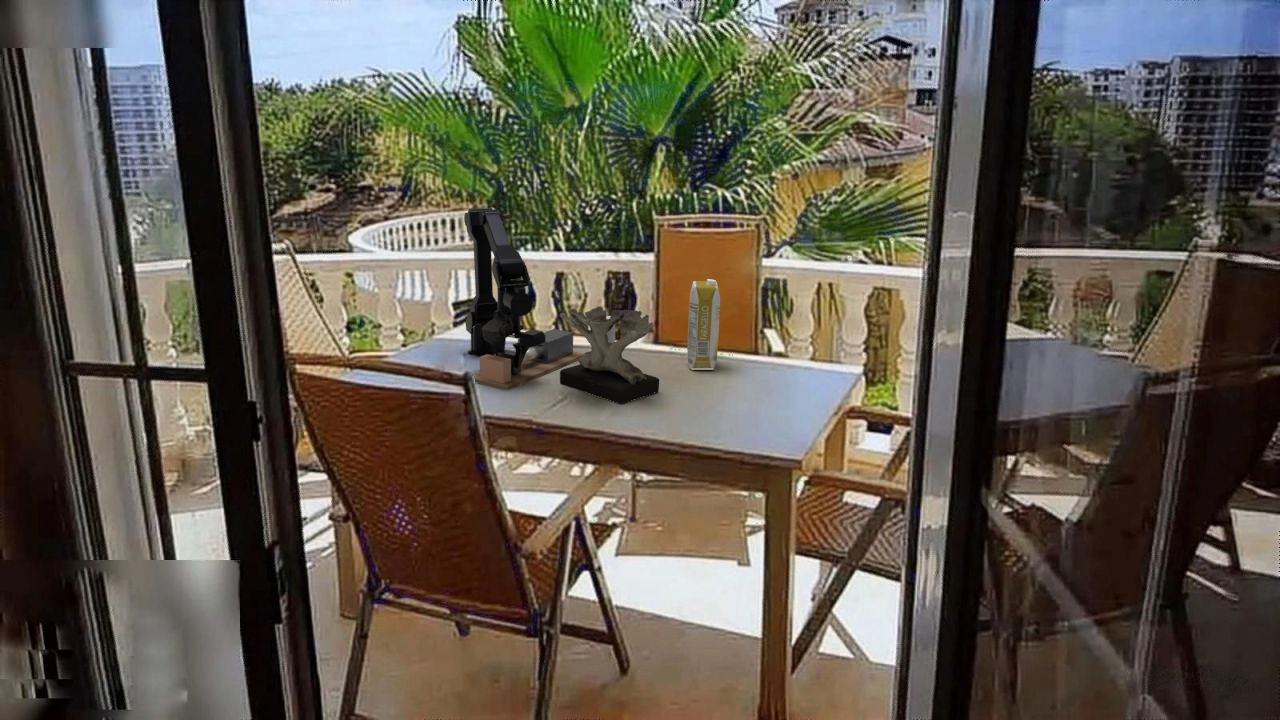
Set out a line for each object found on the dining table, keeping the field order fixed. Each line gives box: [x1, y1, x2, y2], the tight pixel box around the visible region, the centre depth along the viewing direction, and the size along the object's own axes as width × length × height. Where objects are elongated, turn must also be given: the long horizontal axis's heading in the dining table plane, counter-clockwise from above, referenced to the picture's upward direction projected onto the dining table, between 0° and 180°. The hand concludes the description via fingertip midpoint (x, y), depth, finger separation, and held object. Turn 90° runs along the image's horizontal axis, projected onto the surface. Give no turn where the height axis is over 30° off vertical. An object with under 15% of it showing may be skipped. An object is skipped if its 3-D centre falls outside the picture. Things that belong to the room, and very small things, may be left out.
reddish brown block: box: [479, 354, 511, 383], centre depth 255 cm, size 3×7×6 cm, turn 60°
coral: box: [559, 305, 660, 405], centre depth 249 cm, size 25×20×22 cm
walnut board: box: [473, 350, 585, 391], centre depth 268 cm, size 35×12×1 cm, turn 150°
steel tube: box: [498, 344, 544, 375], centre depth 265 cm, size 21×5×5 cm, turn 150°
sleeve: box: [529, 328, 574, 364], centre depth 275 cm, size 12×6×6 cm, turn 150°
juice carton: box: [686, 278, 721, 370], centre depth 271 cm, size 9×8×24 cm
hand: (509, 365), depth 260 cm, fingers closed on steel tube, 5 cm apart
